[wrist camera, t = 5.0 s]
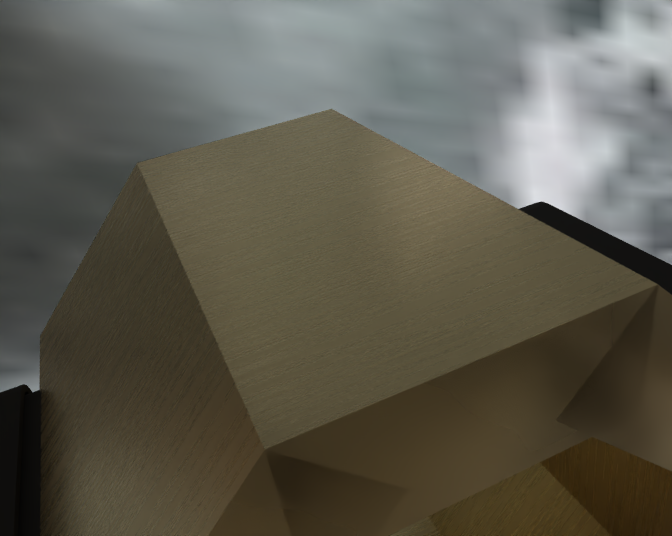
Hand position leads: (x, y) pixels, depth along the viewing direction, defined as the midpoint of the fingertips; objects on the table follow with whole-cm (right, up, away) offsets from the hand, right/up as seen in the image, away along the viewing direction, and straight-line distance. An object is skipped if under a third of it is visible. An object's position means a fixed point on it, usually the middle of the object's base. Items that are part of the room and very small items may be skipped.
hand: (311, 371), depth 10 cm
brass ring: (0, 0, +1) cm, 1 cm away
